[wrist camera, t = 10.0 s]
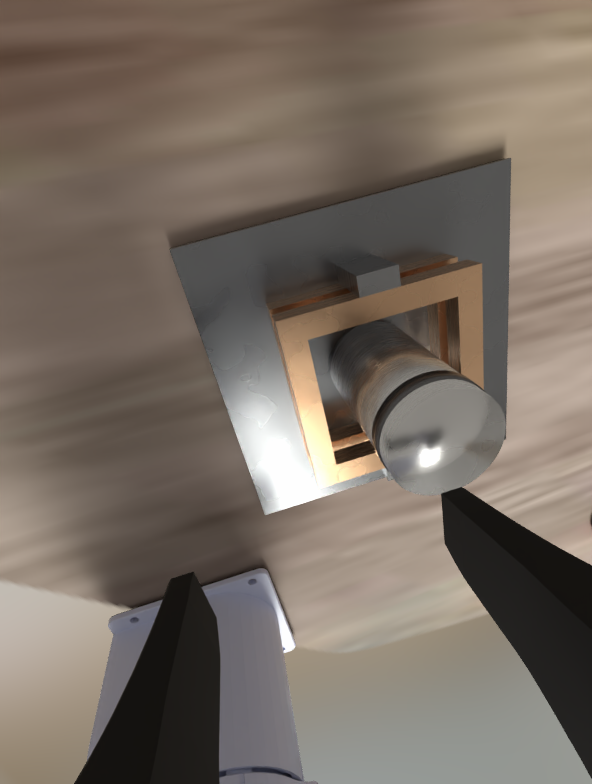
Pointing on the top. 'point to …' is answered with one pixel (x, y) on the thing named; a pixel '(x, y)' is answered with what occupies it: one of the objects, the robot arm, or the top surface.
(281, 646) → the robot arm
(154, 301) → the top surface
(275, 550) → the top surface
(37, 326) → the top surface
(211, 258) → the collar stand
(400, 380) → the metal cylinder
